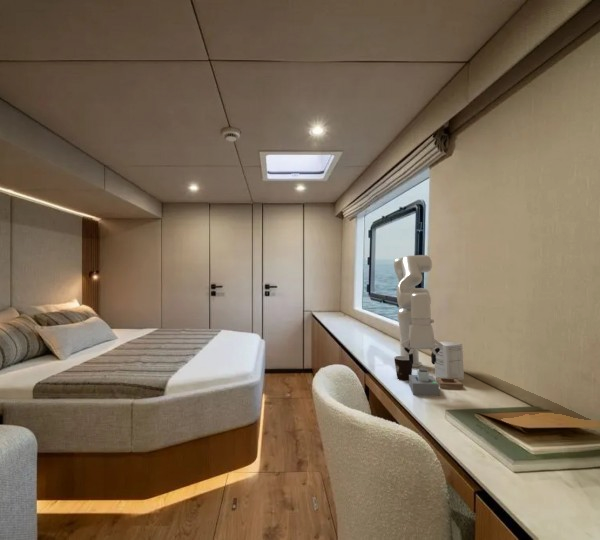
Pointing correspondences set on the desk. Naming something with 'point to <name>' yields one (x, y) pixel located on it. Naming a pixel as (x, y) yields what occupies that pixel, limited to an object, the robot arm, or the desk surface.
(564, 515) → the desk surface
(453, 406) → the desk surface
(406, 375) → the coffee mug
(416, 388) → the port
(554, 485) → the desk surface
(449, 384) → the brown wooden square base
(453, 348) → the supplement box
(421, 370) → the plug
